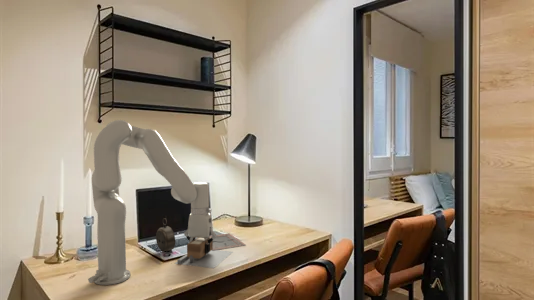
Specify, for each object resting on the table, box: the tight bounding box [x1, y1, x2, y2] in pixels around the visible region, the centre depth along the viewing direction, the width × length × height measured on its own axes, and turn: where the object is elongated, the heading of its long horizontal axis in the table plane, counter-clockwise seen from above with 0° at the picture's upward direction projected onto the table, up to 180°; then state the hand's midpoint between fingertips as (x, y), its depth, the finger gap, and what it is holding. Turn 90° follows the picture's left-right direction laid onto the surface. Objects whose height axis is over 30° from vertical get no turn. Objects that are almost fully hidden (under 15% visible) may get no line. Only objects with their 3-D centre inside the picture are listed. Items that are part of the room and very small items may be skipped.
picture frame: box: [210, 233, 246, 251], centre depth 167 cm, size 16×2×22 cm
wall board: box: [174, 249, 233, 269], centre depth 145 cm, size 20×18×4 cm
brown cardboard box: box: [186, 237, 213, 258], centre depth 146 cm, size 12×6×6 cm, turn 164°
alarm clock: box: [155, 217, 176, 252], centre depth 154 cm, size 11×5×16 cm, turn 45°
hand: (200, 251), depth 146 cm, fingers closed on brown cardboard box, 6 cm apart
